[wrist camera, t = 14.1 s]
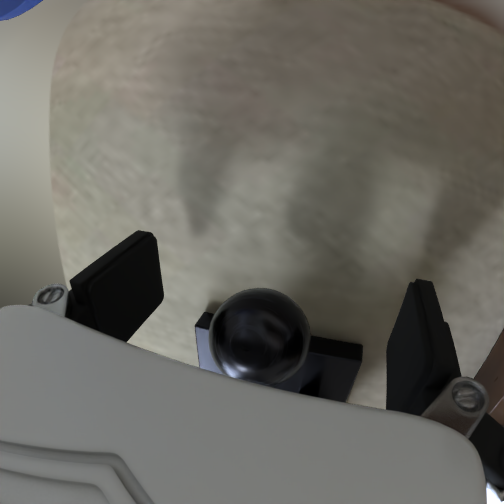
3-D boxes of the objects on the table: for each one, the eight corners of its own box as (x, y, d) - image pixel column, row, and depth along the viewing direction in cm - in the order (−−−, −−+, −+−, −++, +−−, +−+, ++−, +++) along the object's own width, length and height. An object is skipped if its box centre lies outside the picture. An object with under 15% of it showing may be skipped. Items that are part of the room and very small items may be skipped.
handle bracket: (204, 310, 16) (62, 510, 6) (363, 344, 14) (313, 606, 4) (214, 416, 20) (141, 550, 10) (323, 442, 18) (276, 595, 8)
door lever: (235, 282, 12) (204, 275, 9) (321, 299, 11) (319, 297, 8) (186, 532, 10) (158, 567, 7) (248, 552, 10) (230, 592, 6)
